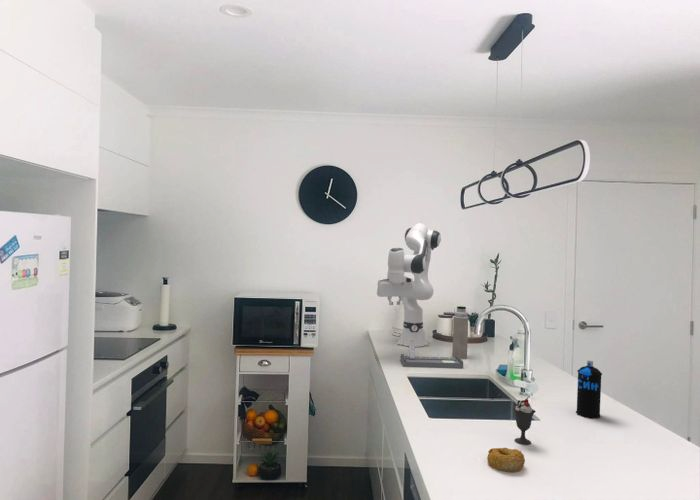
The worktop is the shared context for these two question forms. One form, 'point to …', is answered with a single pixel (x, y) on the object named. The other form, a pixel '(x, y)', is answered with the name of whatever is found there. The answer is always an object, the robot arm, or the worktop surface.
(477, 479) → the worktop surface
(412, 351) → the fader knob
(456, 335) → the thermos bottle
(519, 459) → the bagel
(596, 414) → the aerosol can
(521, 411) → the sundae
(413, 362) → the console
